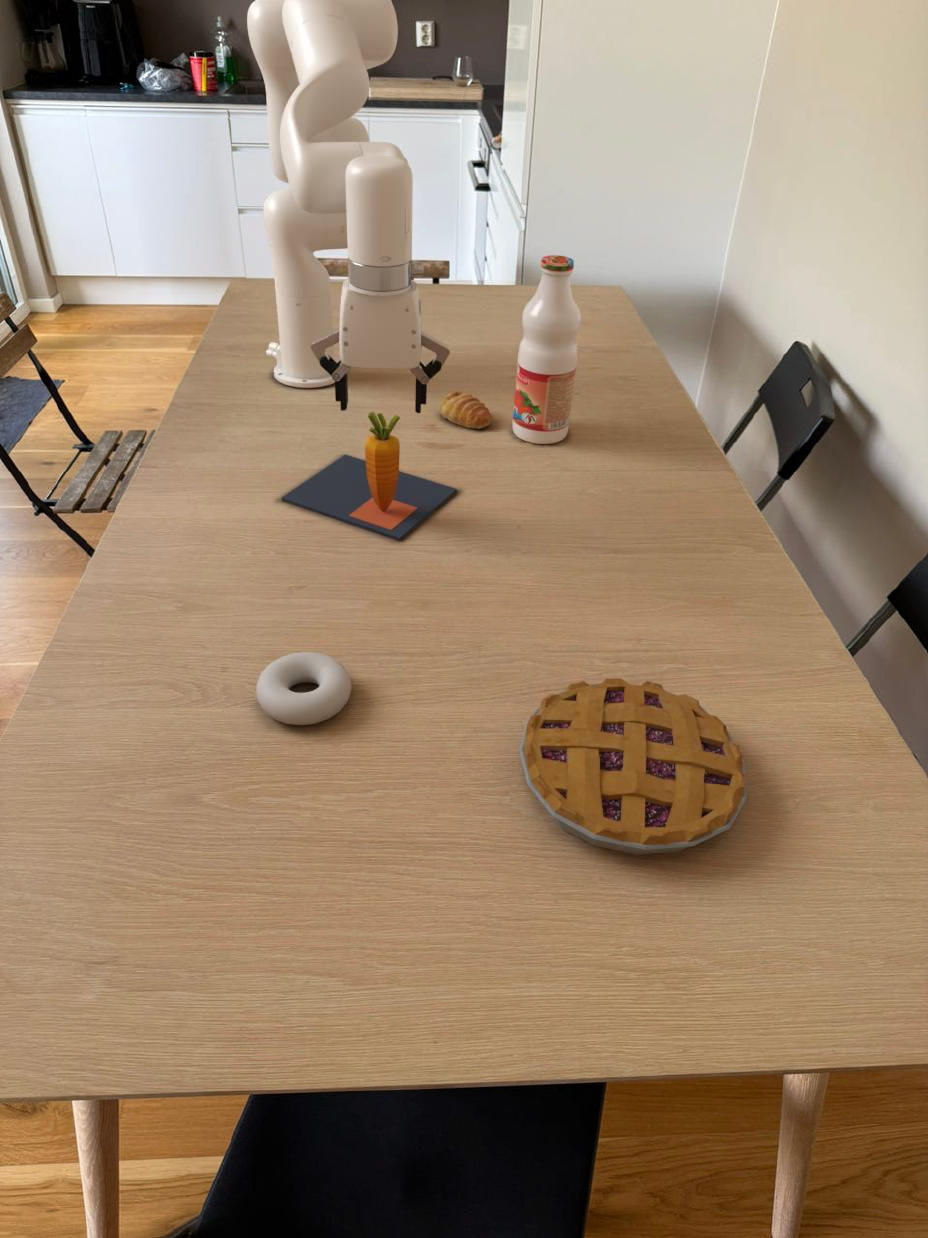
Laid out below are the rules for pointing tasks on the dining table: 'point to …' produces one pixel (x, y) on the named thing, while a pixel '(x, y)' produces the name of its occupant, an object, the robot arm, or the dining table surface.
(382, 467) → the carrot
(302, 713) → the donut
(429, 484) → the mat
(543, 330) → the fruit juice
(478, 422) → the pastry
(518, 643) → the dining table surface
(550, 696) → the pie
